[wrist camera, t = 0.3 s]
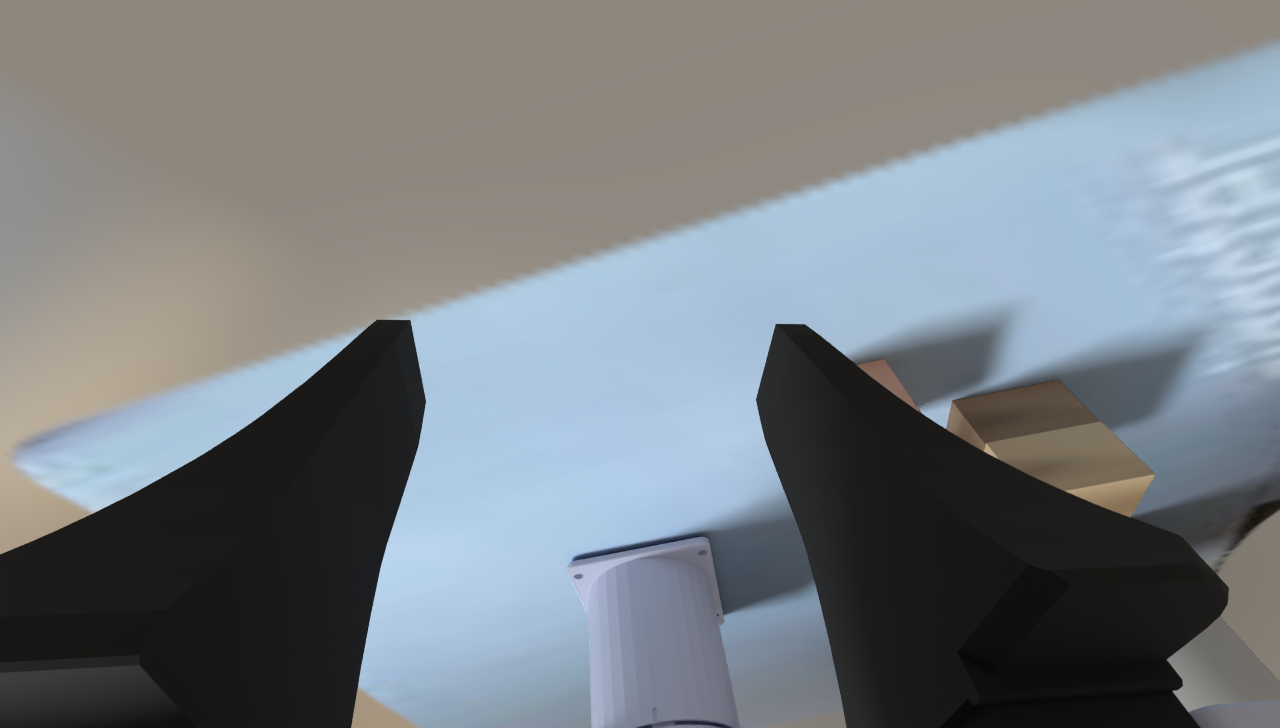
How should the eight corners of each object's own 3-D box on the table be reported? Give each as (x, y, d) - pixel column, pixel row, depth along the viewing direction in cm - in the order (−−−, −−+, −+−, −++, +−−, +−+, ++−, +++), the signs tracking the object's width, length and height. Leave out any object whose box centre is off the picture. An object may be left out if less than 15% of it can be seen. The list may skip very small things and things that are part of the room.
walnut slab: (1031, 448, 31) (1068, 493, 29) (936, 466, 31) (965, 513, 29) (1056, 377, 28) (1100, 421, 26) (950, 398, 28) (984, 443, 26)
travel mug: (1170, 522, 37) (1619, 990, 21) (1098, 582, 40) (1431, 1013, 25) (1088, 516, 35) (1501, 1010, 20) (1021, 578, 39) (1322, 1032, 24)
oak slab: (1068, 493, 29) (1113, 546, 26) (965, 512, 29) (1001, 567, 27) (1101, 421, 26) (1155, 474, 23) (986, 442, 26) (1028, 497, 23)
